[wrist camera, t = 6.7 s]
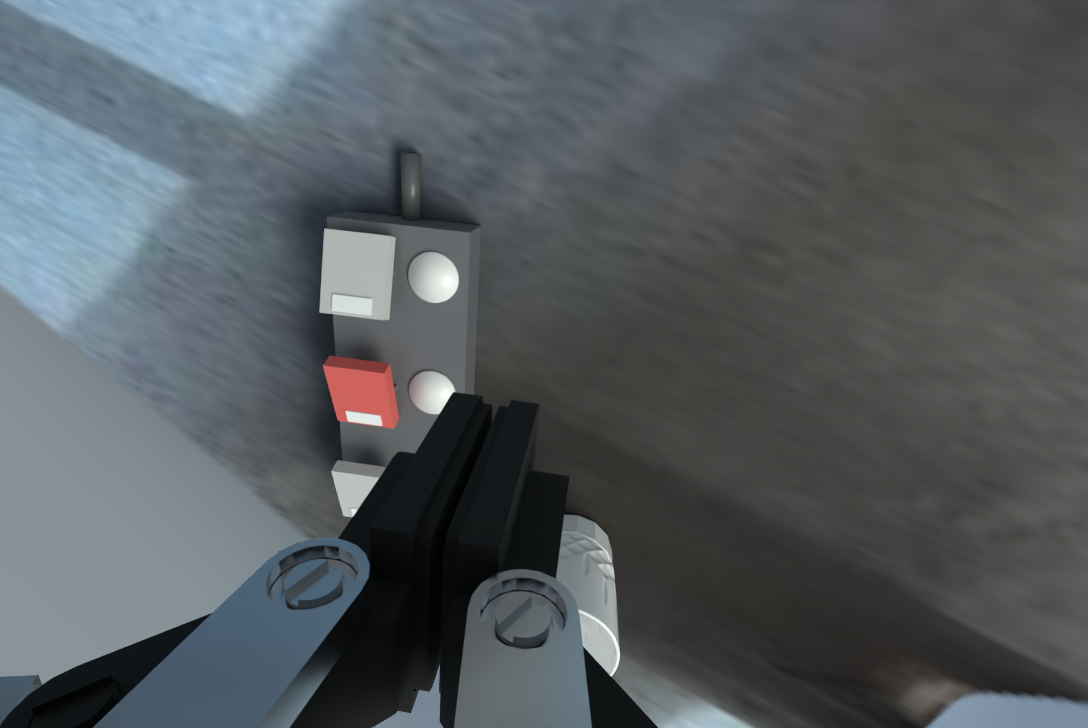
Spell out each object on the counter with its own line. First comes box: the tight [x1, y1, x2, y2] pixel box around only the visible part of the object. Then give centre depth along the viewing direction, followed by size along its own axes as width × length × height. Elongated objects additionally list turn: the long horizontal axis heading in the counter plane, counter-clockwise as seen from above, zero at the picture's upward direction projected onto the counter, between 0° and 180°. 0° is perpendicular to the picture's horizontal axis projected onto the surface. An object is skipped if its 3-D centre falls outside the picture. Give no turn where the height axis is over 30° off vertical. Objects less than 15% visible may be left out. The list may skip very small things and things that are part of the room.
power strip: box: [327, 152, 481, 467], centre depth 38 cm, size 26×9×4 cm, turn 175°
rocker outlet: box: [331, 460, 386, 517], centre depth 40 cm, size 5×4×1 cm
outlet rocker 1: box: [319, 229, 396, 320], centre depth 33 cm, size 5×4×1 cm
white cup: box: [556, 515, 620, 676], centre depth 40 cm, size 8×8×10 cm
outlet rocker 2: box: [323, 356, 399, 429], centre depth 36 cm, size 5×4×1 cm
